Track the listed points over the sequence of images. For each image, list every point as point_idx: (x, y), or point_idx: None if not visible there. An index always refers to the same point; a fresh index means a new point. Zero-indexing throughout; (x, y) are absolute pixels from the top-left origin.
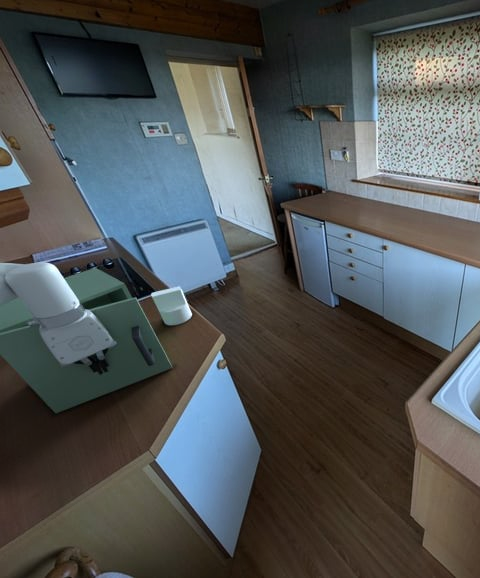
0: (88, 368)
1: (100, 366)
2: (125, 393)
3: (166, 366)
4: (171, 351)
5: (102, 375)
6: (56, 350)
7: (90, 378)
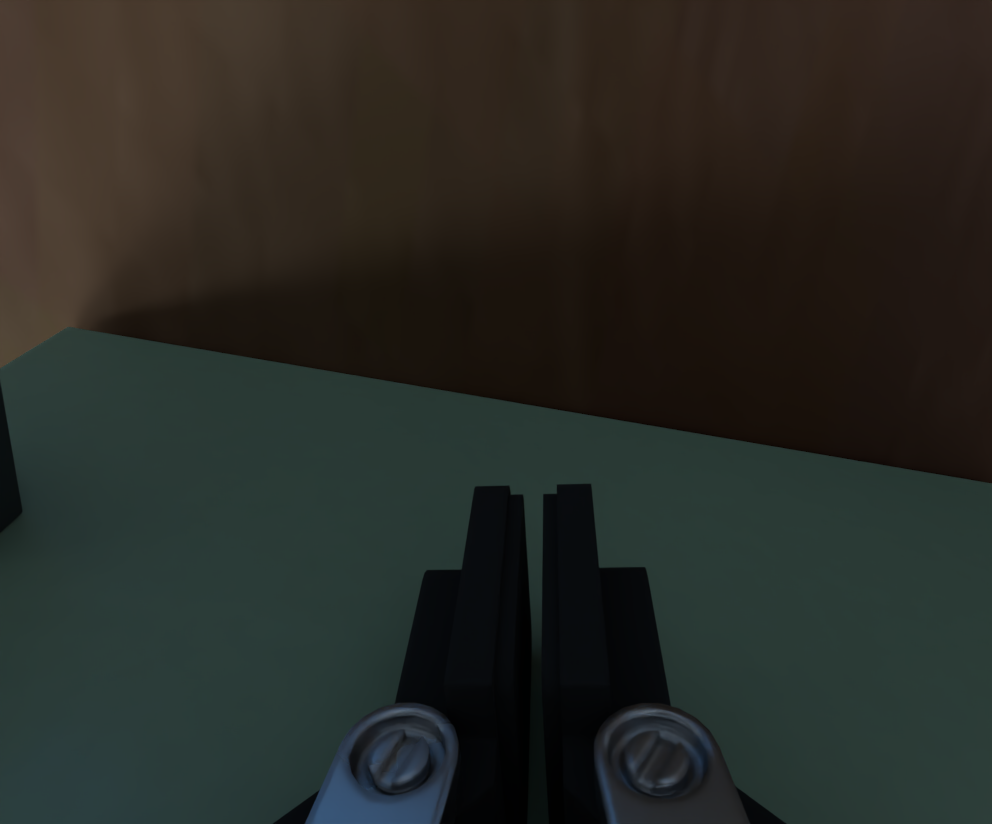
0: None
1: (515, 591)
2: (500, 299)
3: (77, 351)
4: None
5: None
6: None
7: (698, 588)
